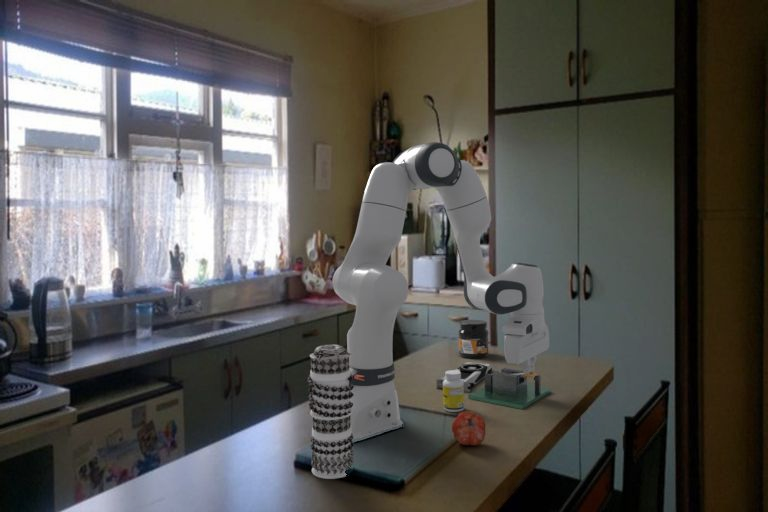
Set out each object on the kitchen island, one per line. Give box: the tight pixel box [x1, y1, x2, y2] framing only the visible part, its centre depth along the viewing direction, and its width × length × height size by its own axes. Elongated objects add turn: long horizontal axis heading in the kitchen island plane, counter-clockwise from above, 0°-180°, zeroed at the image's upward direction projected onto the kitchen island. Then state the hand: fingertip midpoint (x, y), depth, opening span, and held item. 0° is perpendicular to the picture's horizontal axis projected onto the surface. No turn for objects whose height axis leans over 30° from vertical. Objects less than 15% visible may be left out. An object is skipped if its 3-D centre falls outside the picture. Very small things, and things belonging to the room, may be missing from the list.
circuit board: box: [467, 367, 552, 410], centre depth 171 cm, size 18×16×6 cm
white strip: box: [491, 371, 537, 378], centre depth 171 cm, size 3×14×1 cm, turn 52°
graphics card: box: [436, 361, 493, 393], centre depth 188 cm, size 10×3×25 cm
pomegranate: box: [451, 410, 486, 446], centre depth 137 cm, size 7×7×10 cm
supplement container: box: [457, 319, 490, 359], centre depth 218 cm, size 10×10×12 cm
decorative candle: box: [306, 344, 355, 480], centre depth 124 cm, size 9×9×25 cm
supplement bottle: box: [442, 369, 465, 413], centre depth 160 cm, size 5×5×10 cm
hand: (529, 372), depth 168 cm, fingers closed, pressing on white strip
